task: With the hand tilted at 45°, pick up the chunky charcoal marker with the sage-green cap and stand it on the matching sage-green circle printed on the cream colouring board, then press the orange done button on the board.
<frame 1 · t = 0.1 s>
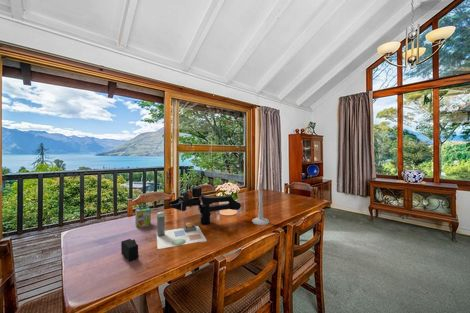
hand: (169, 204, 133), 17 cm above the table, tool horizontal, fingers open, 9 cm apart
button housing: (189, 229, 131), resting on colouring board
marker: (161, 235, 122), point 1 cm above the table, touching colouring board
candlestick: (260, 222, 147), on the table
chalk box: (143, 225, 140), on the table
done button: (189, 225, 131), point 3 cm above the table, slide at 0.0 cm
digital camera: (131, 256, 99), on the table
colouring board: (180, 236, 121), on the table
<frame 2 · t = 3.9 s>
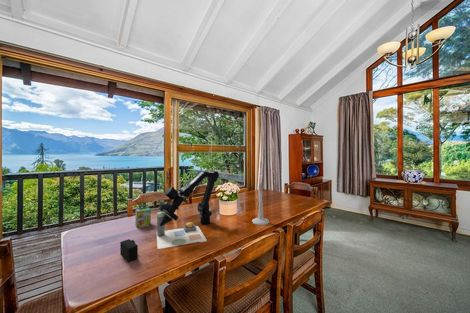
hand: (158, 224, 121), 7 cm above the table, tool tilted 45°, fingers closed on marker, 4 cm apart
marker: (161, 235, 122), point 1 cm above the table, touching colouring board, gripper
everything else where it was.
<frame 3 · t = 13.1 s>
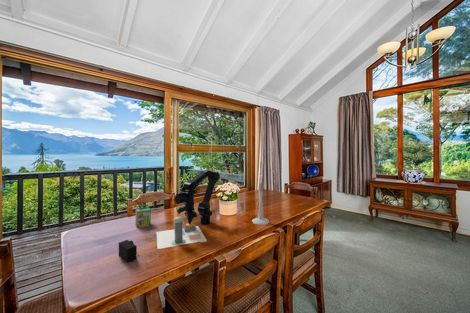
hand: (189, 223, 131), 4 cm above the table, tool pointing down, fingers closed, pressing on done button
marker: (178, 241, 113), point 1 cm above the table, touching colouring board
done button: (189, 225, 131), point 3 cm above the table, slide at 0.3 cm, touching gripper
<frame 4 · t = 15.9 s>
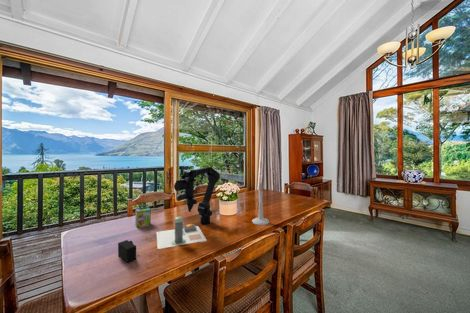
hand: (189, 211, 131), 12 cm above the table, tool pointing down, fingers closed
done button: (189, 227, 131), point 2 cm above the table, slide at 1.2 cm
at the end: marker 0.0 cm from the target spot, point 0.7 cm above the table; marker tilted 1°; done button slide at 1.2 cm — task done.
